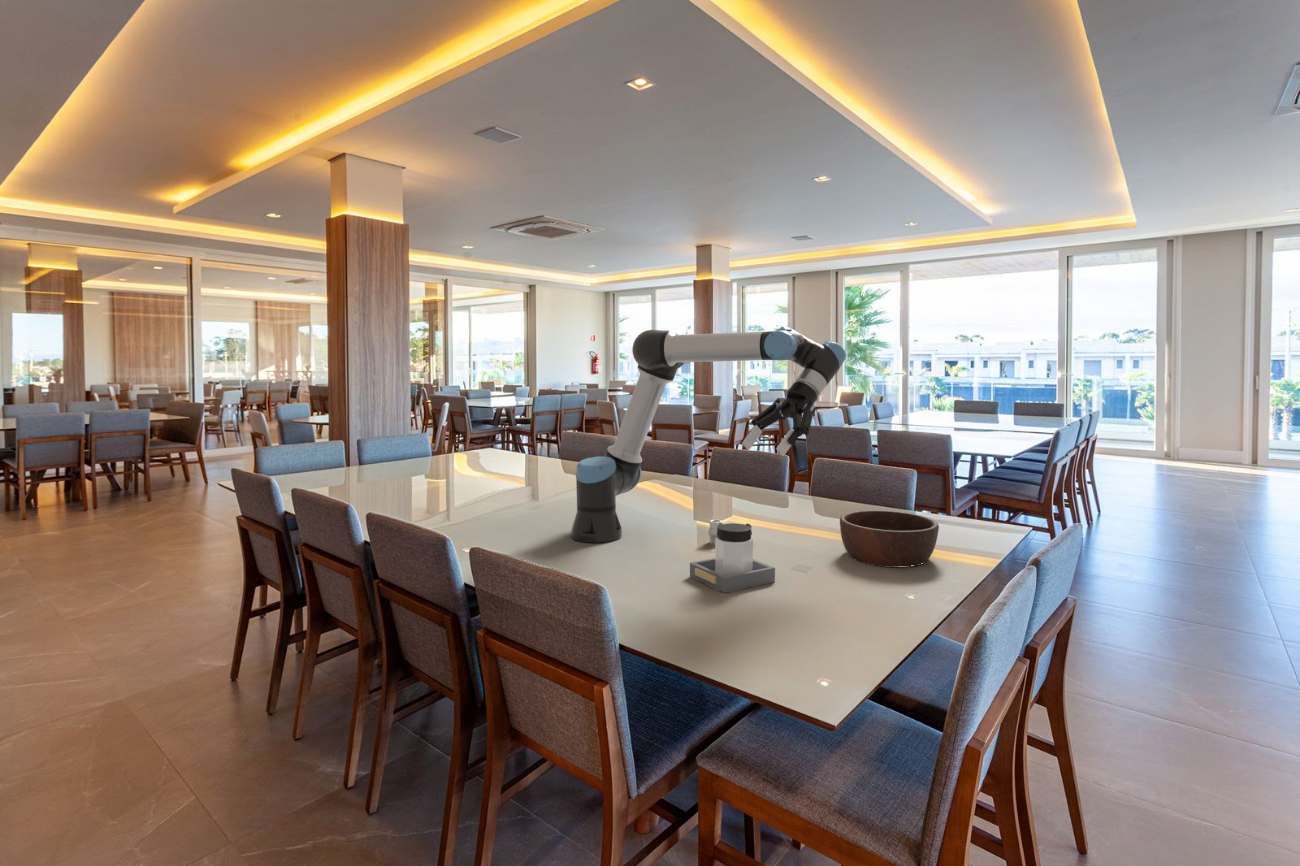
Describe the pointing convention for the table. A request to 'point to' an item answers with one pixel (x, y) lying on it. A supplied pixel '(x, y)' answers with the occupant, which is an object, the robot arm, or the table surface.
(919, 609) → the table surface
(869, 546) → the wooden bowl
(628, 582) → the table surface
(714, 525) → the valve
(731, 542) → the jar
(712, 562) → the tray
